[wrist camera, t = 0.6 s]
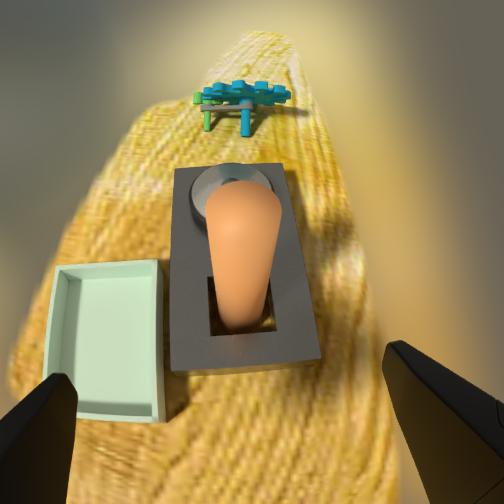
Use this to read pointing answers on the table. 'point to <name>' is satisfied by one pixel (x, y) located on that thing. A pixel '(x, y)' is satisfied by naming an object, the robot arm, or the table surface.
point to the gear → (239, 100)
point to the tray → (109, 338)
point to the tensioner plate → (202, 282)
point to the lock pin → (242, 250)
